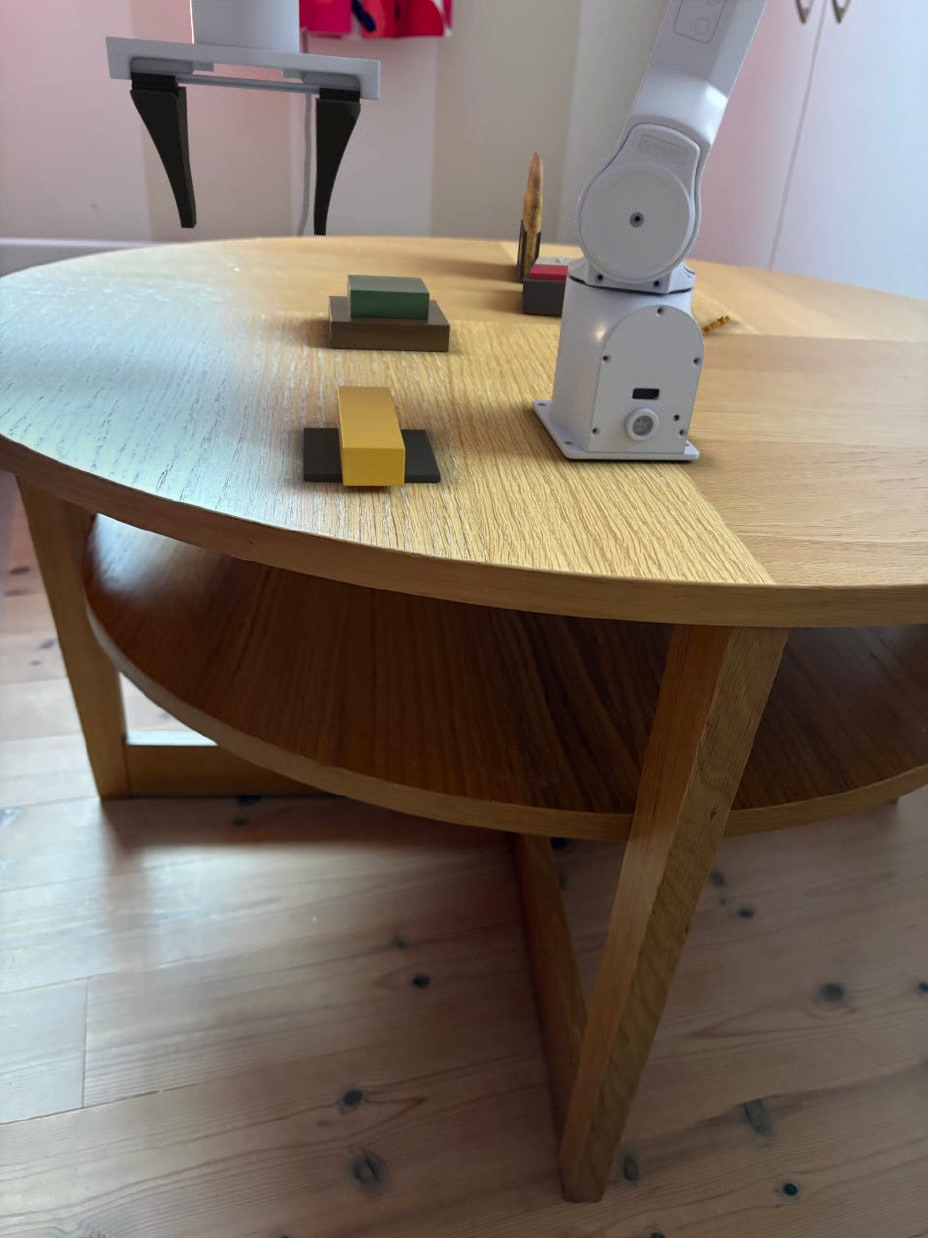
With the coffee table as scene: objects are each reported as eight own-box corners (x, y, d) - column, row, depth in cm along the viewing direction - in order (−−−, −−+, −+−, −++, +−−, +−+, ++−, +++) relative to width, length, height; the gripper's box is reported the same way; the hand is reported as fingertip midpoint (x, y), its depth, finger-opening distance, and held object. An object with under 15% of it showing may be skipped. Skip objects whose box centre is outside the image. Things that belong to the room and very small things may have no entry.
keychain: (721, 322, 86) (723, 312, 85) (731, 324, 85) (734, 313, 85) (693, 336, 80) (696, 325, 79) (705, 338, 79) (707, 327, 79)
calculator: (533, 252, 90) (685, 259, 88) (531, 297, 92) (679, 304, 90) (522, 270, 80) (692, 278, 78) (520, 319, 82) (684, 328, 80)
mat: (440, 482, 46) (440, 475, 46) (303, 481, 45) (303, 473, 45) (425, 435, 52) (425, 429, 52) (303, 433, 51) (303, 426, 50)
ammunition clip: (516, 265, 104) (527, 150, 98) (532, 266, 104) (544, 151, 98) (518, 282, 95) (531, 156, 89) (535, 283, 95) (549, 158, 89)
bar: (403, 486, 44) (405, 447, 43) (343, 486, 44) (343, 447, 43) (388, 420, 53) (389, 386, 52) (337, 419, 52) (336, 385, 51)
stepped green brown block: (448, 351, 68) (452, 297, 66) (331, 348, 67) (330, 292, 65) (434, 323, 76) (437, 274, 74) (328, 320, 75) (328, 269, 73)
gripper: (375, -29, 51) (371, 226, 58) (110, -57, 49) (139, 213, 56) (385, -42, 45) (379, 243, 52) (84, -75, 43) (120, 230, 50)
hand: (255, 229), depth 53 cm, fingers open, 7 cm apart
